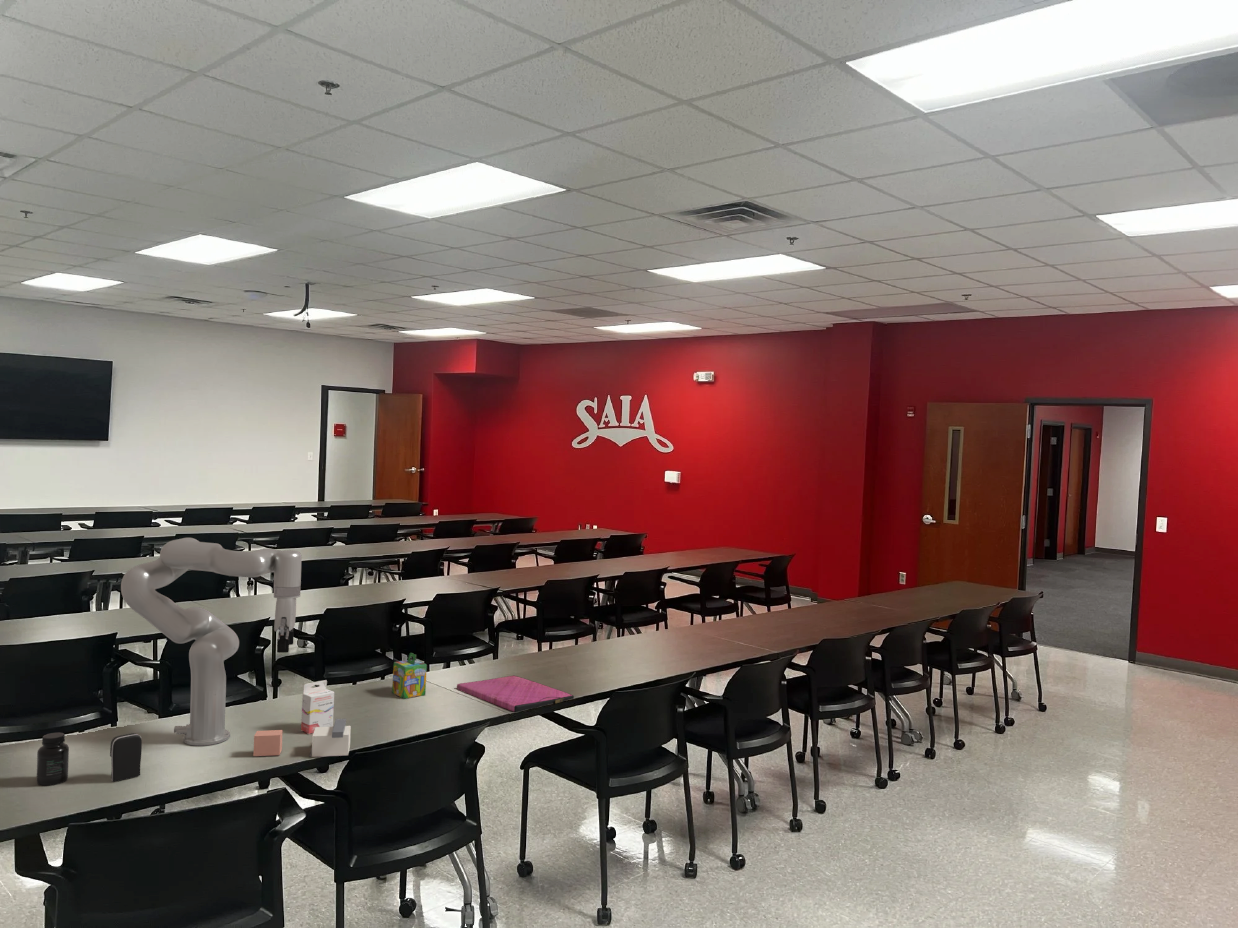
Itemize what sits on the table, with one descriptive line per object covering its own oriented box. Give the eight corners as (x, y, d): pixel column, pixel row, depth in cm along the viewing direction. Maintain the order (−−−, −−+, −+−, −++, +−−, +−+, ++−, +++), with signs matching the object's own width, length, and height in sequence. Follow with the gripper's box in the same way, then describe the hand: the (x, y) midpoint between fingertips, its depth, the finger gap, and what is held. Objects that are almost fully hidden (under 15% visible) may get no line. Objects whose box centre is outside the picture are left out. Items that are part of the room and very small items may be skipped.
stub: (253, 756, 242) (254, 736, 242) (256, 750, 246) (256, 730, 246) (279, 754, 243) (280, 734, 243) (281, 749, 248) (282, 729, 248)
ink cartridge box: (309, 734, 262) (310, 687, 262) (300, 730, 265) (302, 684, 265) (333, 728, 269) (335, 682, 268) (325, 724, 272) (326, 678, 271)
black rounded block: (136, 772, 228) (138, 730, 228) (141, 776, 225) (142, 733, 225) (107, 778, 223) (108, 735, 223) (112, 783, 220) (113, 739, 220)
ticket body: (308, 759, 242) (309, 733, 242) (313, 744, 253) (314, 719, 253) (347, 757, 244) (348, 731, 244) (350, 743, 256) (351, 718, 256)
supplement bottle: (37, 778, 221) (38, 733, 221) (68, 774, 225) (69, 729, 224) (35, 788, 215) (36, 741, 215) (67, 783, 219) (68, 737, 219)
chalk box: (391, 693, 308) (392, 652, 308) (414, 689, 314) (415, 649, 314) (403, 699, 301) (404, 658, 301) (426, 695, 307) (427, 654, 307)
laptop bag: (456, 679, 317) (513, 670, 336) (455, 690, 317) (513, 680, 336) (522, 704, 288) (581, 692, 308) (521, 716, 288) (580, 703, 308)
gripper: (278, 586, 262) (276, 641, 262) (269, 597, 245) (267, 655, 245) (303, 586, 263) (302, 641, 264) (296, 596, 247) (294, 655, 247)
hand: (285, 648), depth 254 cm, fingers open, 9 cm apart
